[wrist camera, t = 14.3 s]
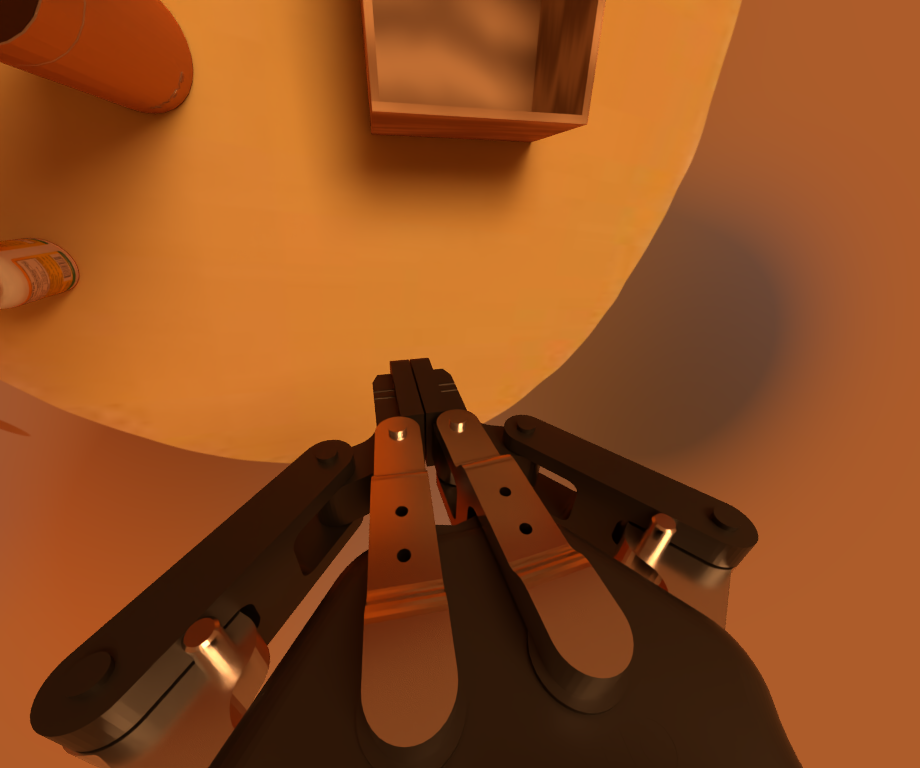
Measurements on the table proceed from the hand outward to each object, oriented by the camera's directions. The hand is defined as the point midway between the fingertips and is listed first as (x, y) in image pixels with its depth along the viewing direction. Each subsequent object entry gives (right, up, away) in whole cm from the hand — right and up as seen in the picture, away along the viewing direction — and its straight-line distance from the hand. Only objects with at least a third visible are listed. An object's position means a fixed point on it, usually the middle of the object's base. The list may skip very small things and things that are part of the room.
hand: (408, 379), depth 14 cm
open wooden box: (+2, +34, +21) cm, 40 cm away
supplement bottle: (-40, +12, +22) cm, 48 cm away
